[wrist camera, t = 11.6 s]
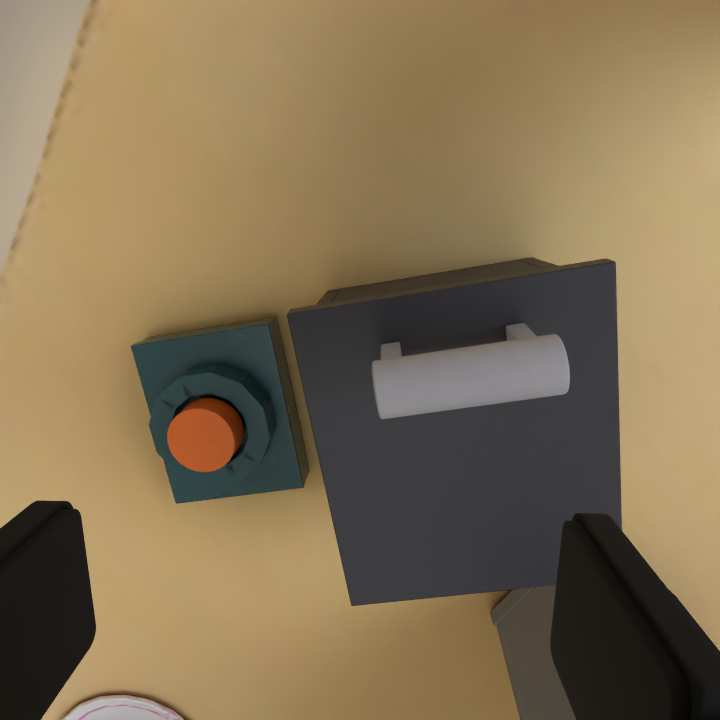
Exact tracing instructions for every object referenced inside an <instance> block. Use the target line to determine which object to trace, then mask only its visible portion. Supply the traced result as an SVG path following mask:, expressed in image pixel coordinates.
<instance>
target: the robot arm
mask: <svg viewBox="0 0 720 720" xmlns="http://www.w3.org/2000/svg"><path fill="white" fill-rule="evenodd" d="M95 632H96V622H95V615H94V608H93V600H92V593H91V586H90V578H89V571H88V564H87V556H86V549H85V542H84V534H83V527H82V520H81V515H80V512H79V511H78V510H77V509H73V507H72V505H71V503H69V502H67V501H35V502H33V503H32V504H30V505H29V506H28V507H27V508H25V509H24V510H23V511H22V512H20V513H19V514H18V515H17V516H15V517H14V518H13V519H12V520H10V521H9V522H8V523H7V524H5V525H4V526H3V527H2V528H0V720H41V718H42V717H43V715H44V714H45V712H46V711H47V709H48V708H49V707H50V705H51V704H52V702H53V701H54V699H55V698H56V696H57V695H58V693H59V692H60V691H61V689H62V688H63V686H64V685H65V683H66V682H67V680H68V679H69V677H70V676H71V675H72V673H73V672H74V670H75V669H76V667H77V666H78V664H79V663H80V661H81V660H82V659H83V657H84V656H85V654H86V653H87V651H88V650H89V648H90V647H91V645H92V643H93V640H94V637H95ZM550 649H551V655H552V659H553V662H554V665H555V668H556V670H557V673H558V675H559V678H560V680H561V683H562V685H563V688H564V690H565V693H566V695H567V698H568V700H569V703H570V705H571V708H572V710H573V713H574V715H575V718H576V720H720V651H719V650H718V649H717V647H716V646H715V645H714V644H713V642H712V641H711V640H710V639H709V637H708V636H707V635H706V634H705V632H704V631H703V630H702V629H701V627H700V626H699V625H698V624H697V622H696V621H695V620H694V619H693V617H692V616H691V615H690V614H689V612H688V611H687V610H686V609H685V607H684V606H683V605H682V604H681V602H680V601H679V600H678V599H677V597H676V596H675V595H674V594H673V593H672V592H671V591H670V590H668V588H667V587H666V586H665V585H664V583H663V582H662V581H661V580H660V578H659V577H658V576H657V575H656V573H655V572H654V571H653V570H652V568H651V567H650V566H649V564H648V563H647V562H646V561H645V559H644V558H643V557H642V556H641V554H640V553H639V552H638V551H637V549H636V548H635V547H634V546H633V544H632V543H631V542H630V541H629V539H628V538H627V537H626V536H625V534H624V533H623V532H622V530H621V529H620V528H619V527H618V525H617V524H616V523H615V522H614V520H613V519H612V518H611V517H610V516H609V515H608V514H601V513H576V514H574V516H573V518H572V521H567V520H566V521H565V522H564V524H563V528H562V536H561V545H560V554H559V563H558V572H557V582H556V591H555V600H554V609H553V618H552V627H551V636H550Z"/></svg>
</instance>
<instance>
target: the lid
mask: <svg viewBox="0 0 720 720" xmlns="http://www.w3.org/2000/svg"><path fill="white" fill-rule="evenodd" d="M287 318H288V322H289V327H290V331H291V336H292V340H293V345H294V349H295V354H296V358H297V363H298V367H299V372H300V376H301V381H302V385H303V390H304V394H305V399H306V403H307V408H308V412H309V417H310V421H311V426H312V430H313V435H314V439H315V444H316V448H317V453H318V457H319V462H320V466H321V471H322V475H323V480H324V485H325V489H326V494H327V498H328V503H329V507H330V512H331V516H332V521H333V525H334V530H335V534H336V539H337V543H338V548H339V552H340V557H341V561H342V566H343V570H344V575H345V579H346V584H347V588H348V593H349V597H350V602H351V605H352V606H357V605H367V604H376V603H386V602H396V601H406V600H415V599H425V598H435V597H445V596H455V595H464V594H474V593H484V592H494V591H503V590H513V589H523V588H533V587H543V586H552V585H556V582H557V572H558V563H559V554H560V545H561V536H562V528H563V524H564V522H565V521H566V520H567V521H572V518H573V516H574V514H576V513H601V514H608V515H609V516H610V517H611V518H612V519H613V520H614V522H615V523H616V524H617V525H618V527H619V528H620V529H621V530H622V519H621V474H620V430H619V386H618V342H617V297H616V262H615V261H612V260H609V259H600V260H594V261H588V262H581V263H575V264H569V265H563V266H556V267H550V268H544V269H538V270H532V271H525V272H519V273H513V274H507V275H501V276H494V277H488V278H482V279H476V280H469V281H463V282H457V283H451V284H445V285H438V286H432V287H426V288H420V289H413V290H407V291H401V292H395V293H389V294H382V295H376V296H370V297H364V298H358V299H351V300H345V301H339V302H333V303H326V304H320V305H314V306H308V307H302V308H295V309H291V310H290V311H289V312H288V314H287Z"/></svg>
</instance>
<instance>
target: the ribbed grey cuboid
mask: <svg viewBox="0 0 720 720" xmlns="http://www.w3.org/2000/svg"><path fill="white" fill-rule="evenodd" d="M555 591H556V585H552V586H543V587H533V588H523V589H513V590H512V591H511V592H510V593H509V594H508V595H507V596H506V597H505V598H504V599H503V600H502V601H501V602H500V603H499V604H498V605H497V606H496V607H495V608H494V609H493V610H492V611H491V612H490V614H491V618H492V622H493V625H494V626H496V627H497V630H498V634H499V638H500V641H501V645H502V649H503V653H504V657H505V661H506V665H507V669H508V673H509V677H510V681H511V685H512V689H513V693H514V696H515V700H516V704H517V708H518V712H519V716H520V720H576V718H575V715H574V713H573V710H572V708H571V705H570V703H569V700H568V698H567V695H566V693H565V690H564V688H563V685H562V683H561V680H560V678H559V675H558V673H557V670H556V668H555V665H554V662H553V659H552V655H551V649H550V636H551V627H552V618H553V609H554V600H555Z"/></svg>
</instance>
